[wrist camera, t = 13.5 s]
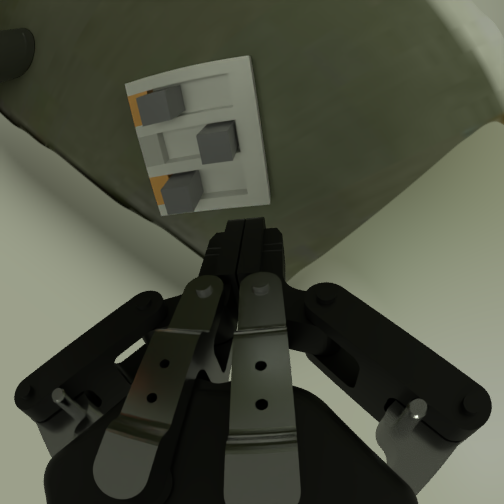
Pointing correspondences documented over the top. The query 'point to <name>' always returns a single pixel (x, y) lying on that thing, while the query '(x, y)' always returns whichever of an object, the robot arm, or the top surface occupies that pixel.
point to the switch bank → (194, 120)
